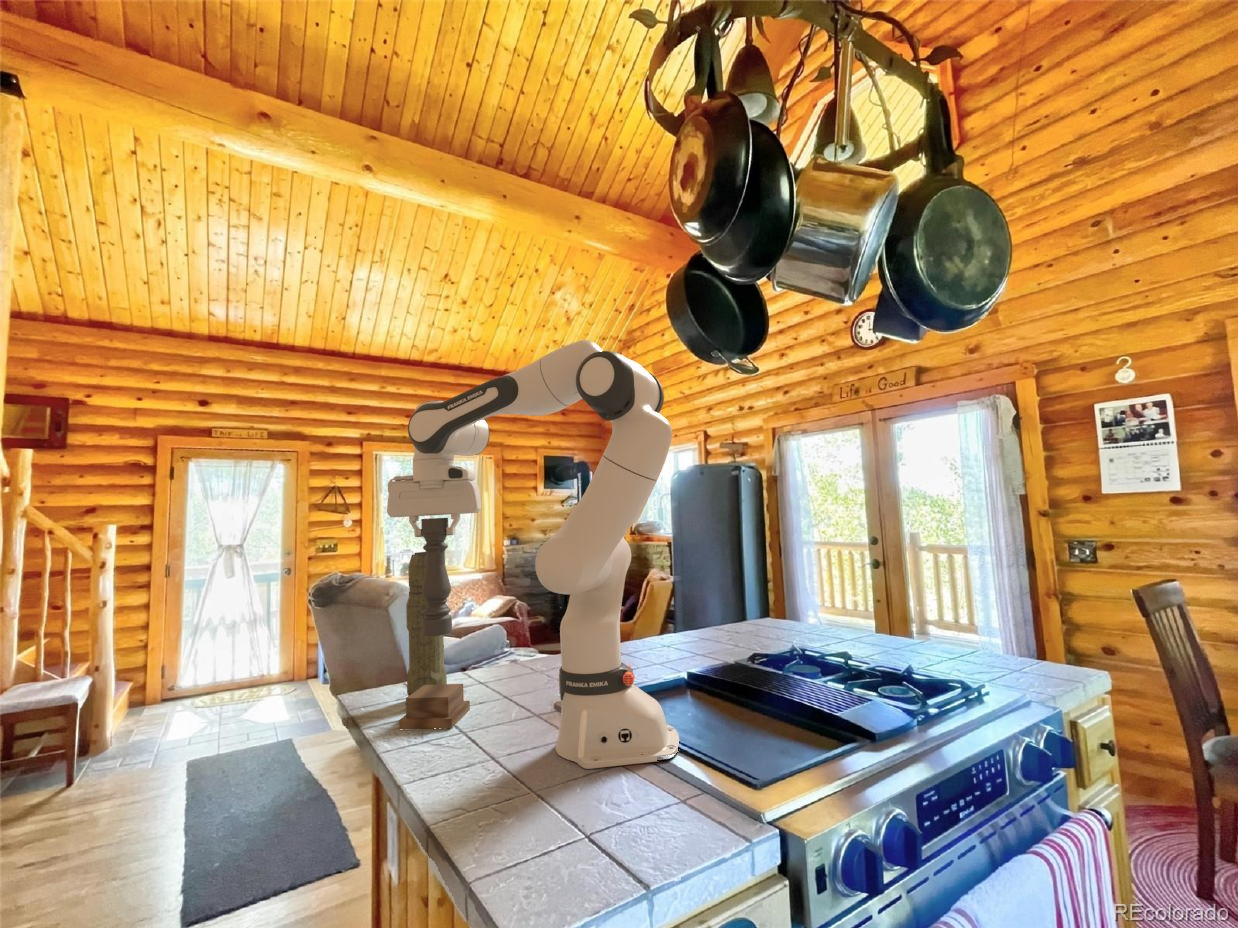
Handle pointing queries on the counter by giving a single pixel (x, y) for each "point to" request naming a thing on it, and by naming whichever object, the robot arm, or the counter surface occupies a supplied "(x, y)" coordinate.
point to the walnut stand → (435, 707)
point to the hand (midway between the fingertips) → (435, 536)
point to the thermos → (422, 649)
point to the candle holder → (436, 579)
